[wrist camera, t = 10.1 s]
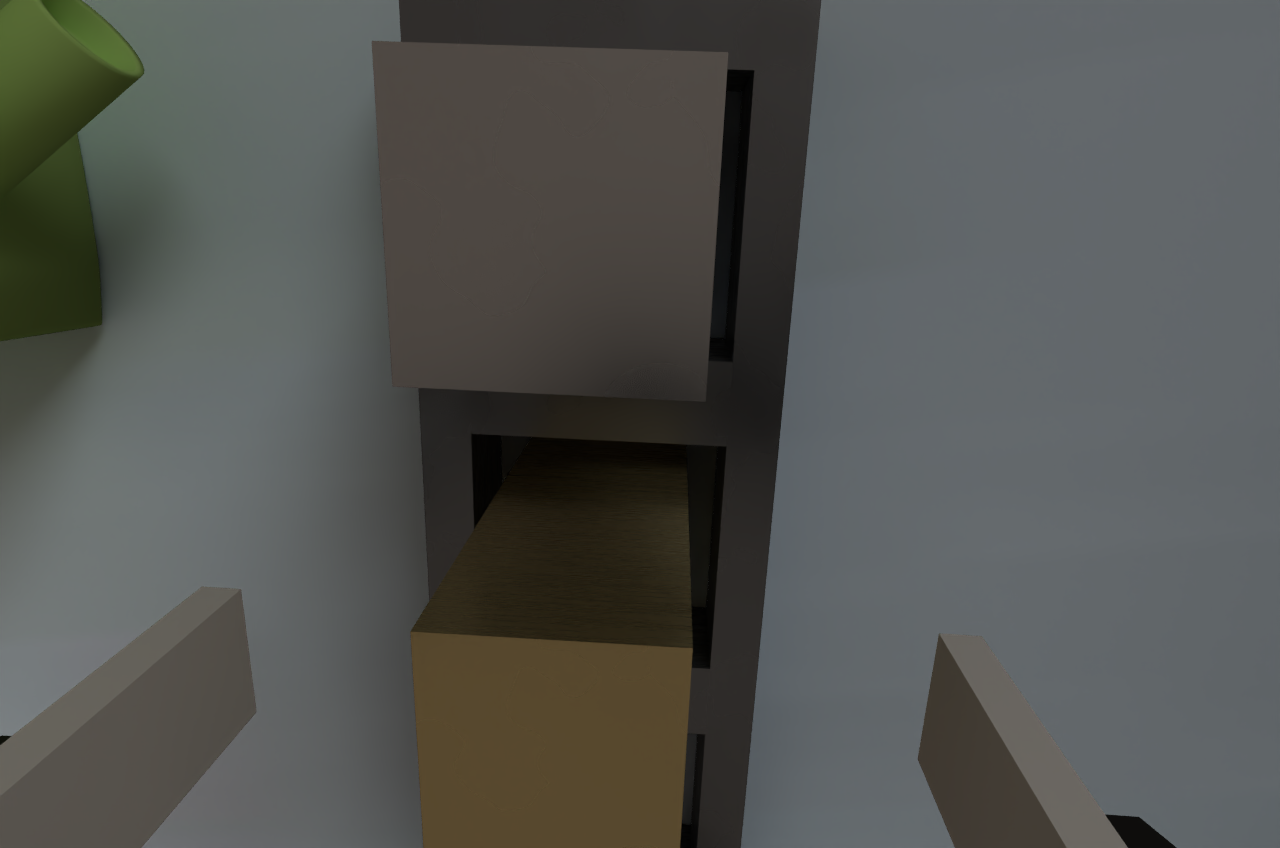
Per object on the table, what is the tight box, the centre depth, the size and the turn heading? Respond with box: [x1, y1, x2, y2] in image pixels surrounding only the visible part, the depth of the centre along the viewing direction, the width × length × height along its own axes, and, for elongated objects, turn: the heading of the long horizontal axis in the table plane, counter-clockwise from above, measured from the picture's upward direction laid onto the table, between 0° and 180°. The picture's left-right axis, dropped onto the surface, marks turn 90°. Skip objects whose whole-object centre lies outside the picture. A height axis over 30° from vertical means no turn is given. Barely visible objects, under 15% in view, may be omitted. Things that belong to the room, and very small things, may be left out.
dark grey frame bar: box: [399, 0, 821, 848], centre depth 20 cm, size 25×8×3 cm, turn 178°
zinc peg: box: [372, 41, 728, 402], centre depth 14 cm, size 4×4×10 cm
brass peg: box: [410, 437, 693, 848], centre depth 16 cm, size 4×4×10 cm
